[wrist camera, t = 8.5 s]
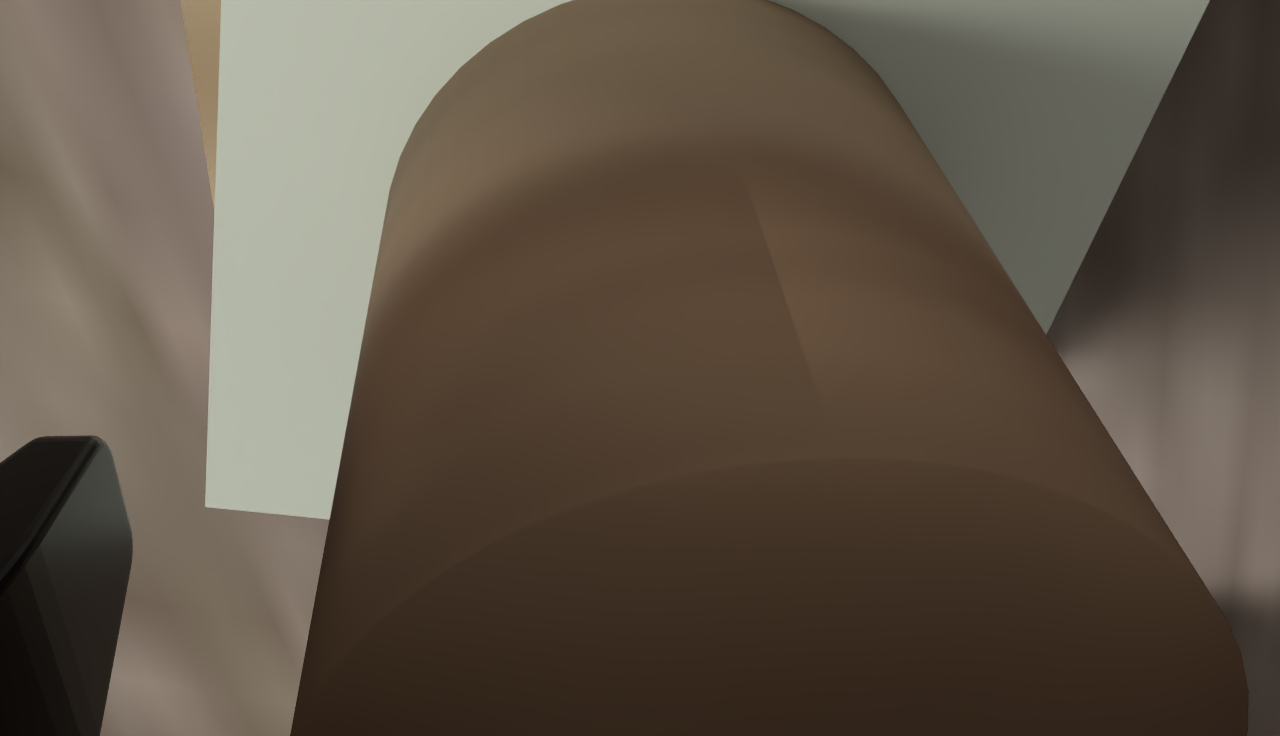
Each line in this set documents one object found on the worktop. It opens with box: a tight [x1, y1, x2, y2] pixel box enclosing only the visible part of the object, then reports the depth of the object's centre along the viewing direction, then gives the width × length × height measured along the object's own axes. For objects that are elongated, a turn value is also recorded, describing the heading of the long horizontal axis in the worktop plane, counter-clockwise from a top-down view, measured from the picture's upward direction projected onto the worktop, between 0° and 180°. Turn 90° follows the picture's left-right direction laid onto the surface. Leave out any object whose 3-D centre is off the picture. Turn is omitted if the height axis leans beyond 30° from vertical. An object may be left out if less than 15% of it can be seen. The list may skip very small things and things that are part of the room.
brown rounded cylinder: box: [290, 0, 1248, 736], centre depth 9 cm, size 5×5×6 cm
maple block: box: [181, 0, 221, 211], centre depth 15 cm, size 10×10×3 cm
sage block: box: [205, 0, 1210, 519], centre depth 12 cm, size 8×8×3 cm
